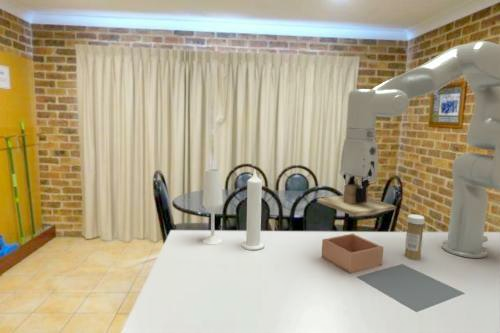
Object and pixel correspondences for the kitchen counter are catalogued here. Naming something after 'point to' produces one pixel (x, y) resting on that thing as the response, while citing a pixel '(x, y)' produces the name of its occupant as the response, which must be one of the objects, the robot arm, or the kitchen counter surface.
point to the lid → (355, 203)
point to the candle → (253, 214)
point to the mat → (410, 287)
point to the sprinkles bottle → (414, 237)
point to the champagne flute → (212, 200)
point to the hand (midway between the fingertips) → (355, 199)
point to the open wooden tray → (352, 253)
